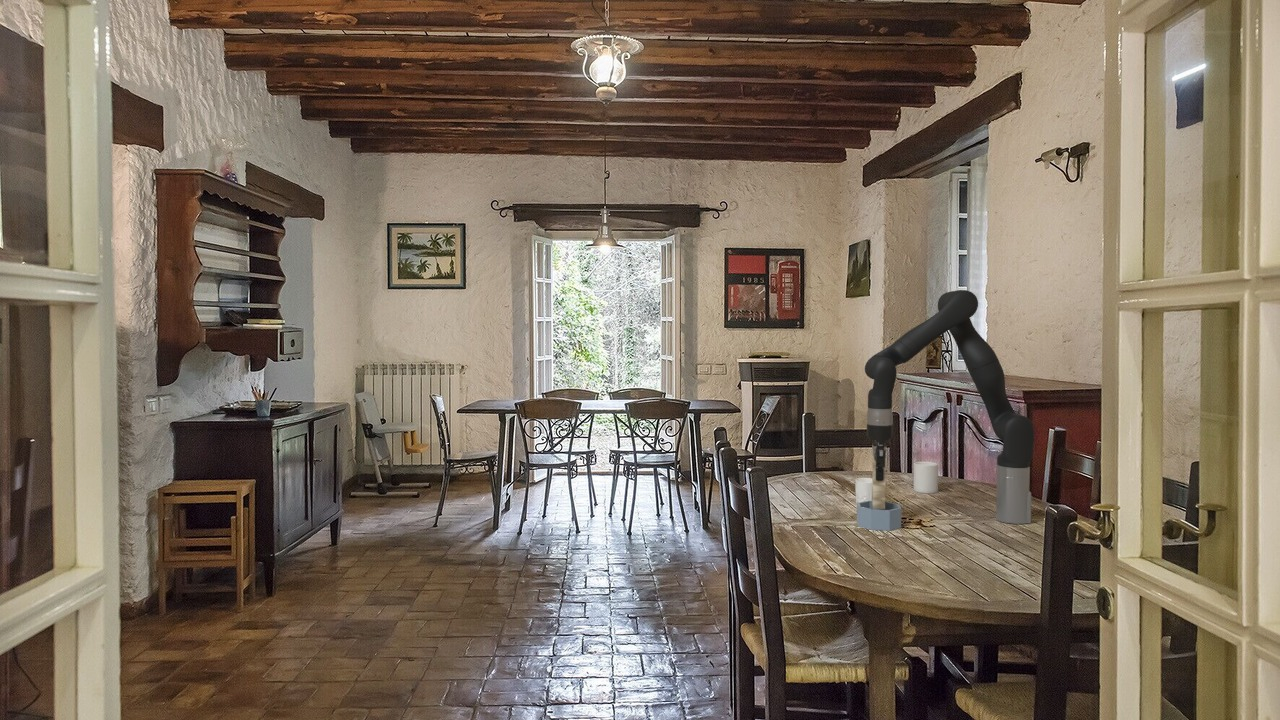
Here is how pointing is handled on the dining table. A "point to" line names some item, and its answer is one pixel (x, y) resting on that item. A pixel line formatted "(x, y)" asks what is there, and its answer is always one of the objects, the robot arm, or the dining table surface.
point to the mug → (925, 477)
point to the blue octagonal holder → (879, 516)
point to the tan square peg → (878, 489)
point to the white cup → (863, 489)
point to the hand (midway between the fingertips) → (878, 478)
